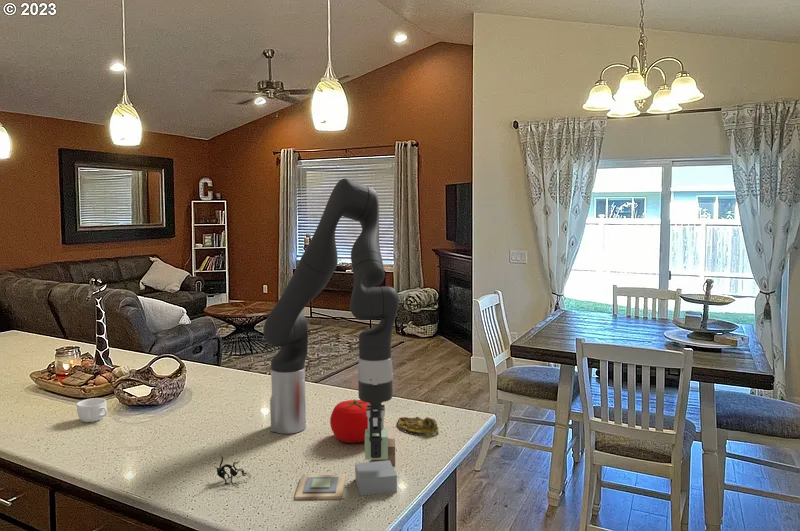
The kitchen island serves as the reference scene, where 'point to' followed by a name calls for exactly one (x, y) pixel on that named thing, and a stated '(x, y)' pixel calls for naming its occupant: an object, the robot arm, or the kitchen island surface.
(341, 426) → the tomato
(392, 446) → the walnut block
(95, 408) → the teacup
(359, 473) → the grey base block
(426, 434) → the stuffed eggplant half
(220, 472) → the creature
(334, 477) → the tile
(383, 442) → the sage block
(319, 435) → the kitchen island surface
